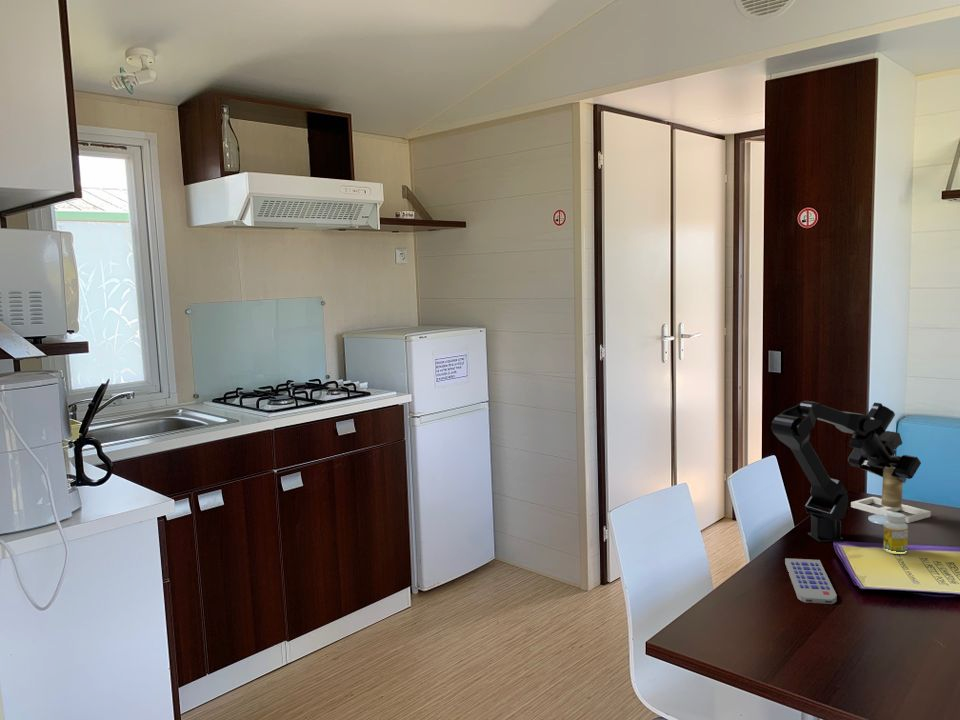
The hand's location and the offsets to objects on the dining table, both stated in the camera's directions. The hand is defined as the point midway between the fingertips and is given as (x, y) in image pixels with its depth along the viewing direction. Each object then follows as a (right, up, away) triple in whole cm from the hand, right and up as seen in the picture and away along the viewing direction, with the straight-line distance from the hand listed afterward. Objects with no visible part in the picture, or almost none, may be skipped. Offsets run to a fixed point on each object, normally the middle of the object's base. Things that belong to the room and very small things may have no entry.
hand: (896, 479), depth 211 cm
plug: (-1, -7, 0) cm, 7 cm away
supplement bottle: (-13, -15, -23) cm, 30 cm away
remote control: (-42, -18, -39) cm, 60 cm away
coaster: (-3, -12, -1) cm, 12 cm away
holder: (+2, -11, +7) cm, 13 cm away
